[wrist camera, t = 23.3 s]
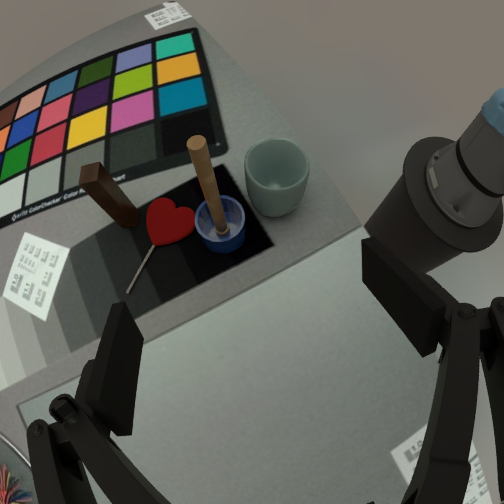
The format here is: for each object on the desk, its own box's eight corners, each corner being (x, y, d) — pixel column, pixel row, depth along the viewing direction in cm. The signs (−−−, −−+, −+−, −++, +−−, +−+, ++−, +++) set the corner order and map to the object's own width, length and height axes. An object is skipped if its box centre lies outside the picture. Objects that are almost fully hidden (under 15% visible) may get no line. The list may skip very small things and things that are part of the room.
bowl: (243, 208, 45) (242, 192, 41) (249, 251, 44) (247, 238, 39) (200, 214, 45) (193, 198, 41) (202, 256, 43) (196, 245, 39)
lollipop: (150, 307, 41) (203, 215, 45) (148, 306, 40) (202, 213, 44) (107, 280, 43) (158, 195, 46) (105, 279, 42) (157, 192, 46)
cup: (257, 231, 44) (256, 199, 35) (240, 185, 47) (235, 146, 37) (308, 215, 45) (320, 180, 35) (288, 171, 47) (294, 130, 38)
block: (138, 210, 46) (99, 161, 33) (137, 225, 45) (97, 180, 32) (123, 212, 46) (81, 166, 33) (122, 228, 45) (78, 184, 32)
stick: (229, 222, 44) (207, 131, 25) (230, 236, 43) (208, 150, 24) (214, 224, 44) (184, 135, 25) (215, 237, 43) (184, 153, 24)
